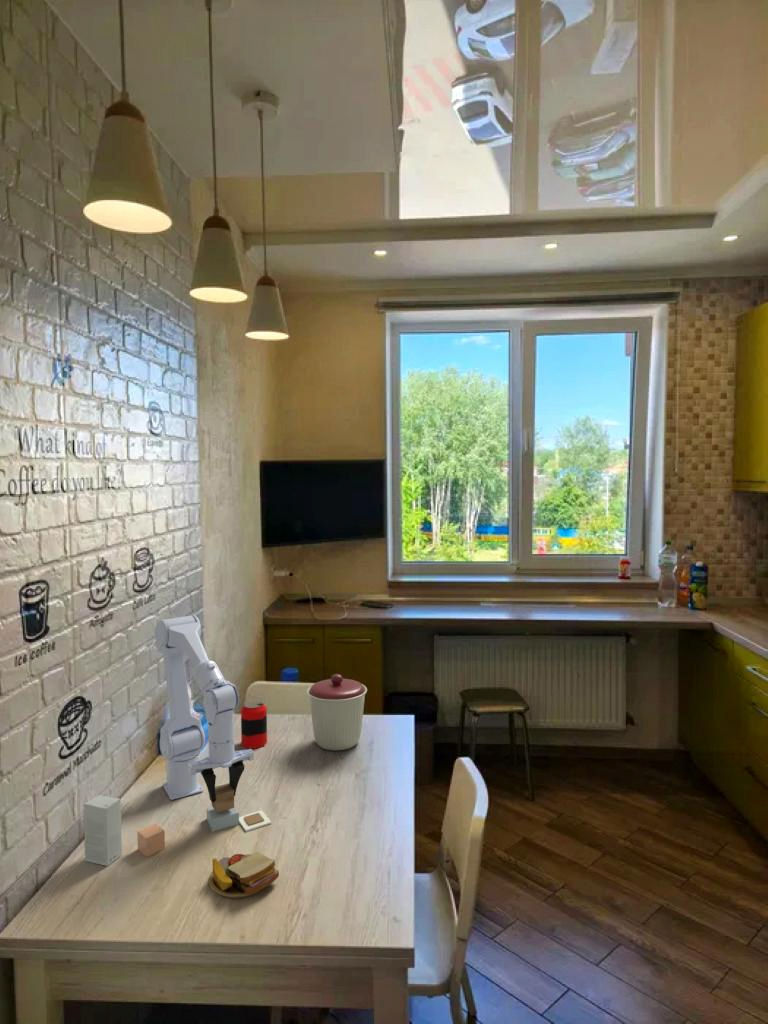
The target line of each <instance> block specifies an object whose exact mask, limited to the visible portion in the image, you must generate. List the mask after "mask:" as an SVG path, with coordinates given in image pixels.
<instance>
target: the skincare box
mask: <svg viewBox="0 0 768 1024" xmlns="http://www.w3.org/2000/svg"><path fill="white" fill-rule="evenodd" d="M83 803H84V804H83V825H84V826H83V827H84V829H83V830H84V860H85V862H89V863H92V864H97V865H102V866H105V867H107V866H108V867H109V866H110V865H111V864H112V863H114V862H115V861H116V860H117V859H118V858H120V857H121V856H122V855H123V844H122V842H123V841H122V807H121V806H122V804H121V803H122V801H121V798H119V797H118V798H117V797H111V796H106V795H101V794H98V795H96V796H95V797H93V798H91V799H89V800H88V801H86V802H83Z"/></svg>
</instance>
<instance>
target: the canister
mask: <svg viewBox="0 0 768 1024" xmlns="http://www.w3.org/2000/svg"><path fill="white" fill-rule="evenodd" d="M367 692H368V688H367V687H366V685H364V684H363V683H361V682H360V681H357V680H354V679H349V678H343V676H342V675H341V673H340V674H339V673H335V674H332V675H331V678H329V679H323V680H320V681H317V682H315V683H314V684H313V685H310V686H309V687H308V688H307V689H306V694H307V696H308V697H309V707H310V714H311V723H312V724H311V725H312V729H313V736H314V740H315V742H316V744H317V746H318V747H320V748H321V749H324V750H328V751H335V752H336V751H345V750H348V749H351V748H354V746H356V745H357V744H358V743H359V741H360V738H361V733H362V728H363V717H364V707H365V697H366V694H367Z"/></svg>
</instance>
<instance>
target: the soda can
mask: <svg viewBox="0 0 768 1024" xmlns="http://www.w3.org/2000/svg"><path fill="white" fill-rule="evenodd" d="M267 710H268V709H267V706H266V705H265V703H263V702H262V701H258V700H253V701H248V702H245V703H244V705H243V706H242V707H241V709H240V718H241V719H240V725H241V726H240V730H241V731H240V732H241V734H240V735H241V736H240V737H241V739H240V740H241V745H242V747H243V748H245V749H251V750H253V749H258V748H259V749H260V748H262V747H265V745H266V744H267V743H268V717H267V716H268V714H267Z"/></svg>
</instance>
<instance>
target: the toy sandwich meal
mask: <svg viewBox="0 0 768 1024" xmlns="http://www.w3.org/2000/svg"><path fill="white" fill-rule="evenodd" d="M275 861H276V860H275V859H274V858H270V857H268V856H266V855H264V854H262V853H260V852H258V851H256V852H254V853H252V854H251V853H249V854H248V853H247V854H246V853H245V854H242V853H236V854H233V855H231V857H223V858H221V859H219V860H218V859H217V858H216V857H214V858H212V863H211V864H212V871H211V873H210V874H209V877H208V884H209V886H210V889H212V890H213V891H214V892H215V893H217V894H219V895H220V896H223V897H226V898H233V899H235V898H237V899H239V898H245V897H249V896H252V895H255V894H257V893H258V892H260V891H261V890H263V889H265V888H266V887H269V885H271V884H272V883H274V882H275V881H276V880H277V879H278V878H279V877H280V873H279V872H280V871H279V869H276V868H275V866H276V862H275Z"/></svg>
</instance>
